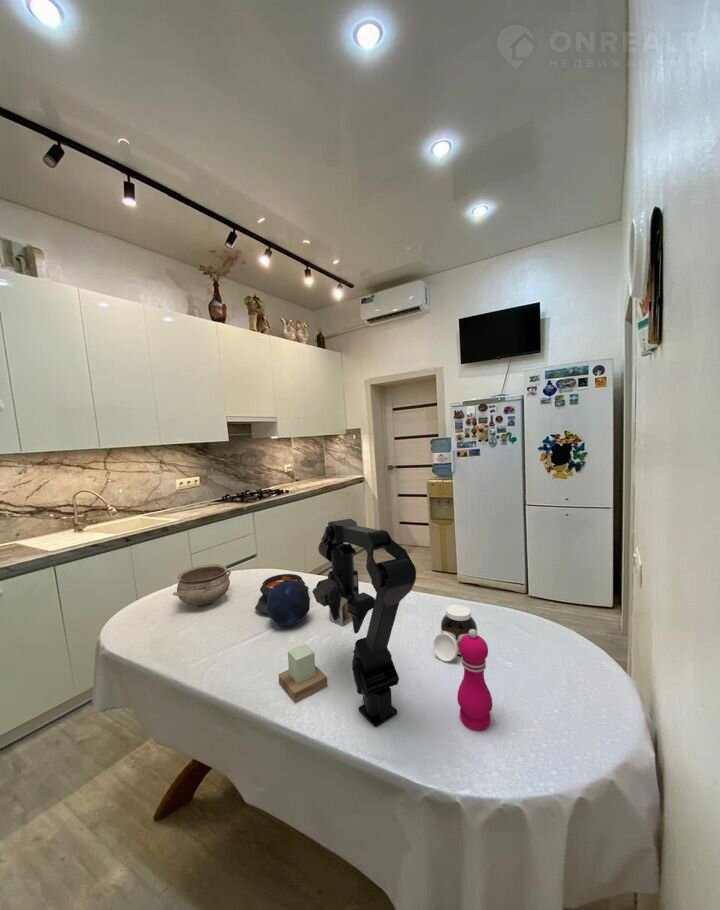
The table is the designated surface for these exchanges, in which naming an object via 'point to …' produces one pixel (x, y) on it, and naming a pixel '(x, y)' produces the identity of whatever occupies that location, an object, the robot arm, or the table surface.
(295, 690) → the walnut block
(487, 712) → the pepper mill
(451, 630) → the spread jar
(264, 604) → the casserole
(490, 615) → the table surface
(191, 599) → the cooking pot
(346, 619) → the coffee box
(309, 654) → the sage cube
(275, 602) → the decorative orb
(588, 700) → the table surface
